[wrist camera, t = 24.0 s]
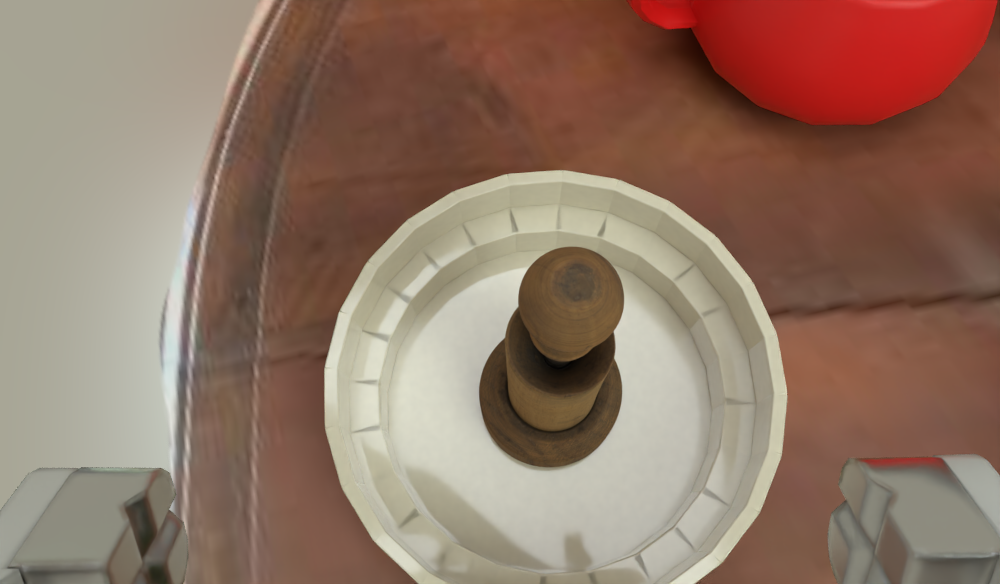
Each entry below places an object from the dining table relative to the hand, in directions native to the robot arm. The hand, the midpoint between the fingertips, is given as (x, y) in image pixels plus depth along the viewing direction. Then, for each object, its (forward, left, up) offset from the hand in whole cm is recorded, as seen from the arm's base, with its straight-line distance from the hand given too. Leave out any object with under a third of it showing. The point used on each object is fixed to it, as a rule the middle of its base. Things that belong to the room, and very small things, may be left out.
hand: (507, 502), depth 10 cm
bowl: (+4, +5, -30) cm, 30 cm away
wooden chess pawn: (+4, +5, -29) cm, 30 cm away
